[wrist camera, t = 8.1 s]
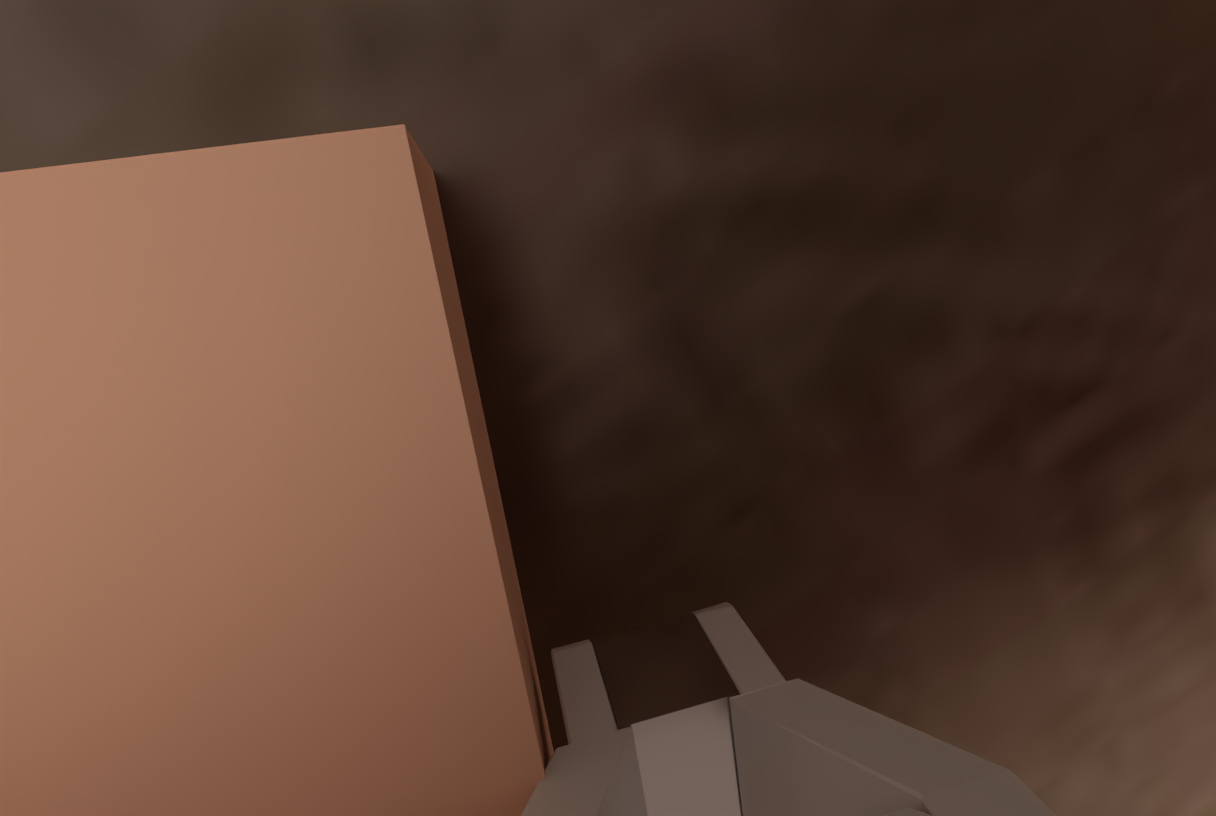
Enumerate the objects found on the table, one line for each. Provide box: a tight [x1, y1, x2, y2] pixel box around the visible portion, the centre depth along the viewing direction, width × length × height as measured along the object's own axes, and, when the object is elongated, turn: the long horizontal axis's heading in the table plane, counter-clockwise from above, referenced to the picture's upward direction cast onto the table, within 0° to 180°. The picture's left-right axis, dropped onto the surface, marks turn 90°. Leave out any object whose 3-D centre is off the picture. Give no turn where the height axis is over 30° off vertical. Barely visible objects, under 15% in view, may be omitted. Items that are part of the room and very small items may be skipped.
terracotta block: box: [0, 124, 554, 816], centre depth 7 cm, size 12×8×4 cm, turn 8°
